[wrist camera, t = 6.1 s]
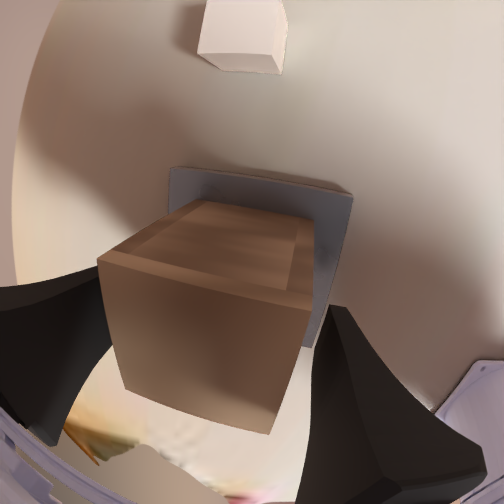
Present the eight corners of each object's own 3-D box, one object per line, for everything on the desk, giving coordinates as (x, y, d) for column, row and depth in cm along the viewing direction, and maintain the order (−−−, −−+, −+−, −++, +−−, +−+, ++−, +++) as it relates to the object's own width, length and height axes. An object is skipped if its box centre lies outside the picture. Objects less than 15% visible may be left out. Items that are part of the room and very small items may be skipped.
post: (350, 194, 11) (380, 239, 6) (311, 338, 15) (304, 425, 9) (177, 166, 13) (95, 190, 7) (175, 306, 16) (123, 373, 11)
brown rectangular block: (313, 220, 11) (312, 311, 5) (290, 320, 14) (269, 435, 8) (195, 199, 12) (96, 258, 6) (191, 297, 14) (125, 388, 8)
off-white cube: (288, 25, 9) (279, -5, 6) (281, 74, 10) (271, 54, 7) (230, 23, 9) (208, -4, 7) (223, 70, 10) (196, 53, 8)
